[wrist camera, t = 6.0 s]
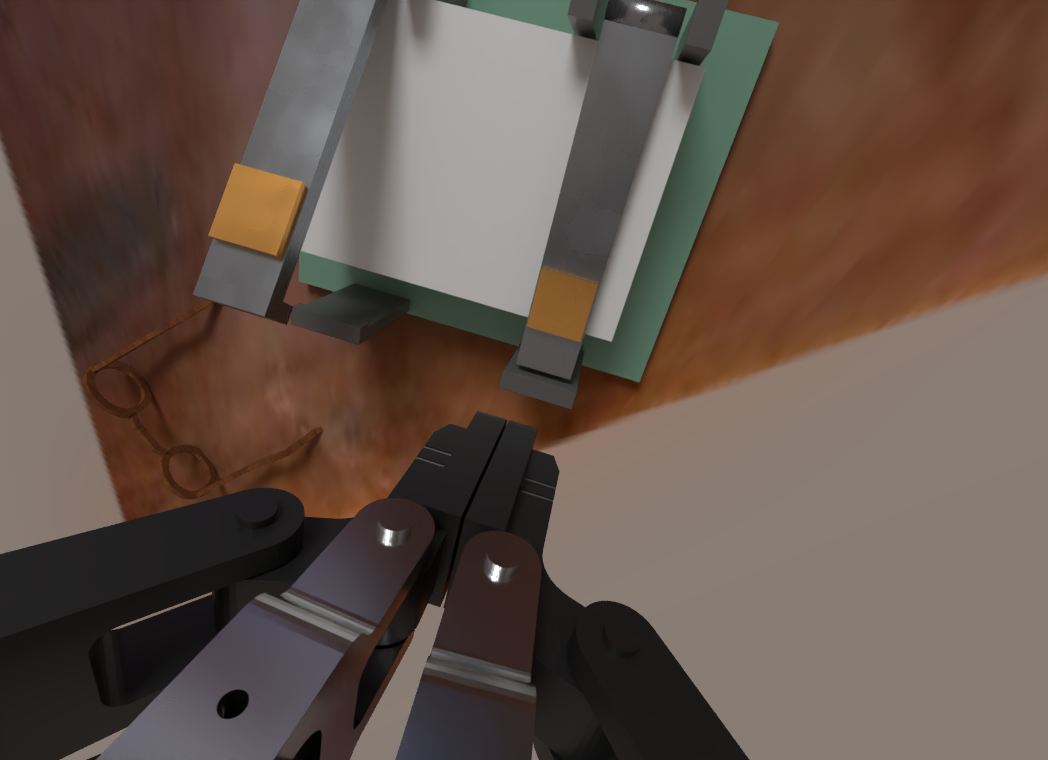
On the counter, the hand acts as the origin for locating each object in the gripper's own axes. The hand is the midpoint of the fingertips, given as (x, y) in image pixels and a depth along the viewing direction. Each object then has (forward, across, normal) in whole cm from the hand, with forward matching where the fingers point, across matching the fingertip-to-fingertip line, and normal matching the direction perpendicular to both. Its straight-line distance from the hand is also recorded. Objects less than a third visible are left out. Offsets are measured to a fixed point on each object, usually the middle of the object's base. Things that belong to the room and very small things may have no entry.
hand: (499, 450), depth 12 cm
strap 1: (+11, +12, -5) cm, 17 cm away
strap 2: (+15, 0, -4) cm, 16 cm away
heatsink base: (+21, +6, -4) cm, 22 cm away
